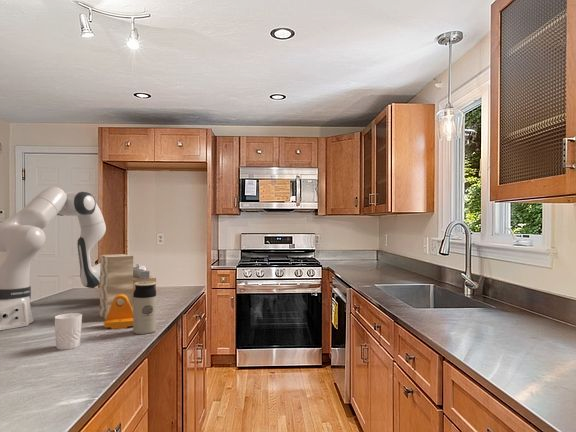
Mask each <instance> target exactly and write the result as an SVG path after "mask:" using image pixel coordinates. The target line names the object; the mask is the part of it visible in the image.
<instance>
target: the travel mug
mask: <svg viewBox="0 0 576 432" xmlns="http://www.w3.org/2000/svg"><path fill="white" fill-rule="evenodd" d="M155 284H156V285H157V282H156V283H155V282H137V283H135V284H134V285H135V288H136V289H135V291H134V296H133V326H132V332H133V333H134V334H137V335H147V334H152V333H154V332H156V331H157V330H156V329H157V289H156V290H155V288H154V287H155Z"/></svg>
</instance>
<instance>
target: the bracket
mask: <svg viewBox="0 0 576 432" xmlns="http://www.w3.org/2000/svg"><path fill="white" fill-rule="evenodd" d="M118 299H122V300H124V304H122V305H120V304H118V303H117V300H118ZM103 326H104V328H106V329H108V328H110V329H111V330H120V329H128V327H133V310H132V307H131V305H130V302H129V300H128V297H127V296H126V295H124V294H119V295H117V296H116V297H115V298H114V300H113V303H112V305H111V307H110V310H109V312H108V315H107V317H106V319H104V323H103Z"/></svg>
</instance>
